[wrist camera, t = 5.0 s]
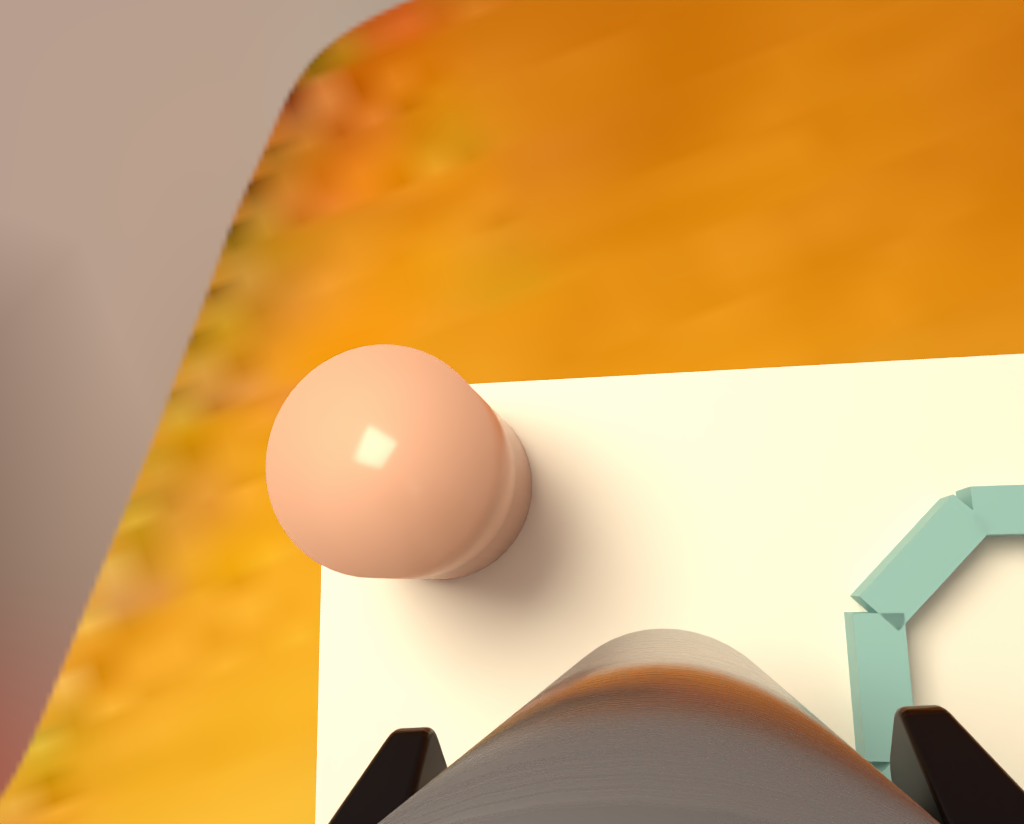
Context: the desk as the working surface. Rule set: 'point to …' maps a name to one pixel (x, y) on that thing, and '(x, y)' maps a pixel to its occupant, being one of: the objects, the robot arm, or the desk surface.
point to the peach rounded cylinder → (396, 468)
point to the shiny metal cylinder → (661, 750)
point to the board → (721, 556)
